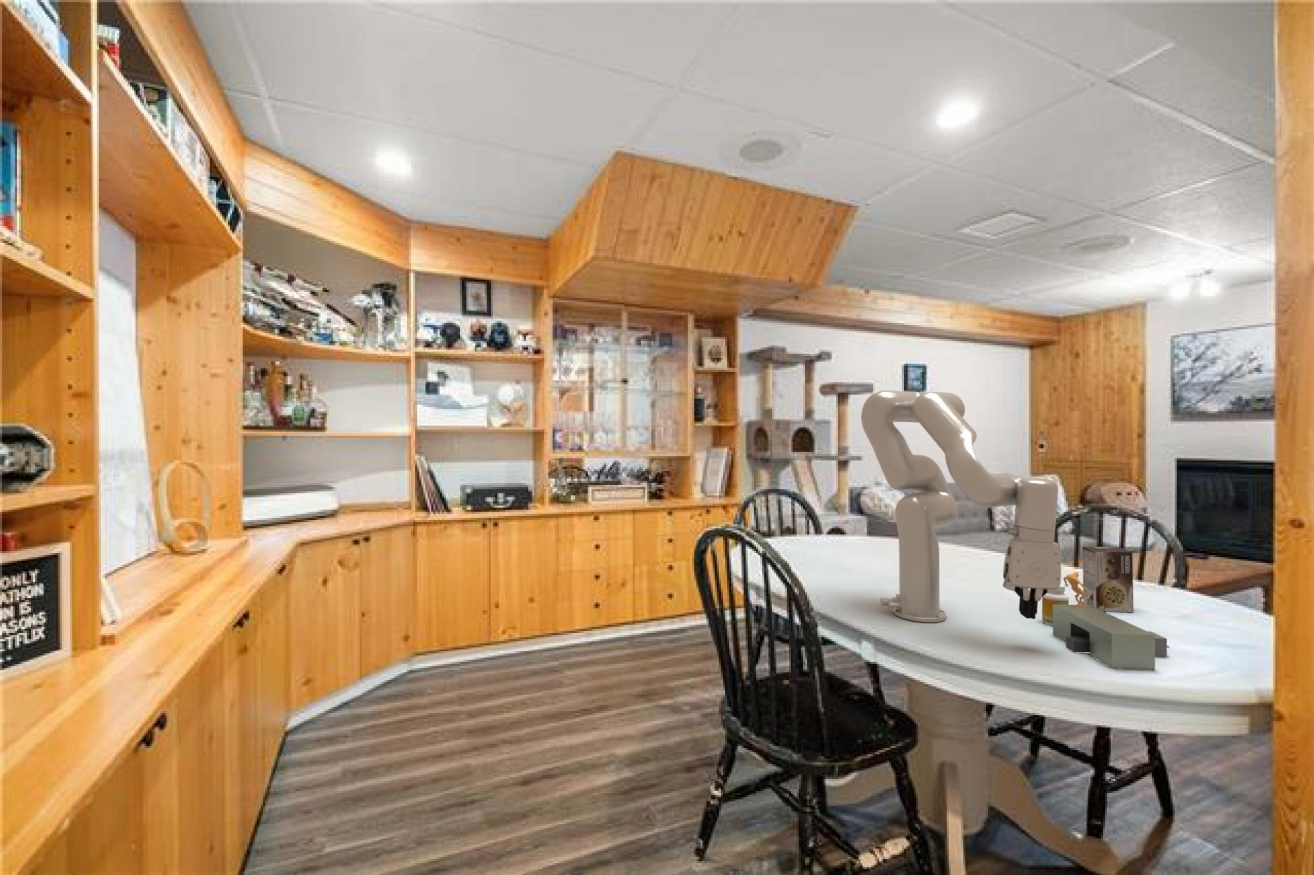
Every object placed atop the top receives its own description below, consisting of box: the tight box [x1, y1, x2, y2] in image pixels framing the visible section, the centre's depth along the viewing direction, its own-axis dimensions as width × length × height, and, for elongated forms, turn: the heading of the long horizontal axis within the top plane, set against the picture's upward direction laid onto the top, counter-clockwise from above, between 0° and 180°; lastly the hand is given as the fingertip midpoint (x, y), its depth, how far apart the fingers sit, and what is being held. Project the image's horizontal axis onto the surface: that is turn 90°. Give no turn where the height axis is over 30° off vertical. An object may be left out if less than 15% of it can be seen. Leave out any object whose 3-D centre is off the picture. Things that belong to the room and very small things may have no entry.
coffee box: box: [1082, 546, 1135, 613], centre depth 154 cm, size 9×6×16 cm
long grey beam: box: [1065, 630, 1170, 658], centre depth 124 cm, size 18×4×4 cm, turn 82°
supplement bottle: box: [1041, 583, 1070, 627], centre depth 142 cm, size 5×5×10 cm
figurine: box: [1062, 571, 1091, 605], centre depth 145 cm, size 8×6×12 cm
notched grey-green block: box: [1052, 604, 1156, 670], centre depth 124 cm, size 8×20×7 cm, turn 174°
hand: (1027, 616), depth 127 cm, fingers closed
